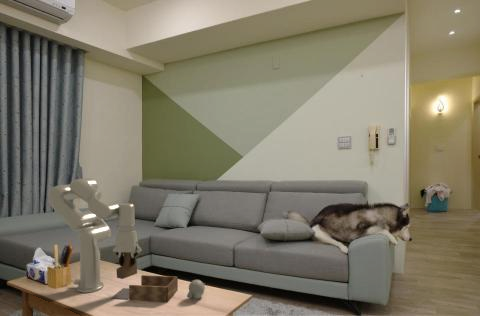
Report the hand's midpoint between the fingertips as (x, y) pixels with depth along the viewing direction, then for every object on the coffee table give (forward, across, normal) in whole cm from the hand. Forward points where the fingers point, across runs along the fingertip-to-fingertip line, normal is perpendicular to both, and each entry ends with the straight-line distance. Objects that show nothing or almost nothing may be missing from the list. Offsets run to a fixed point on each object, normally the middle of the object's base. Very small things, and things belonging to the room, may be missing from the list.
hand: (127, 264), depth 159 cm
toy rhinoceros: (+15, +36, 0) cm, 39 cm away
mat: (+14, -1, 0) cm, 14 cm away
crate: (+15, +14, 0) cm, 20 cm away
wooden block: (+6, 0, 0) cm, 6 cm away
